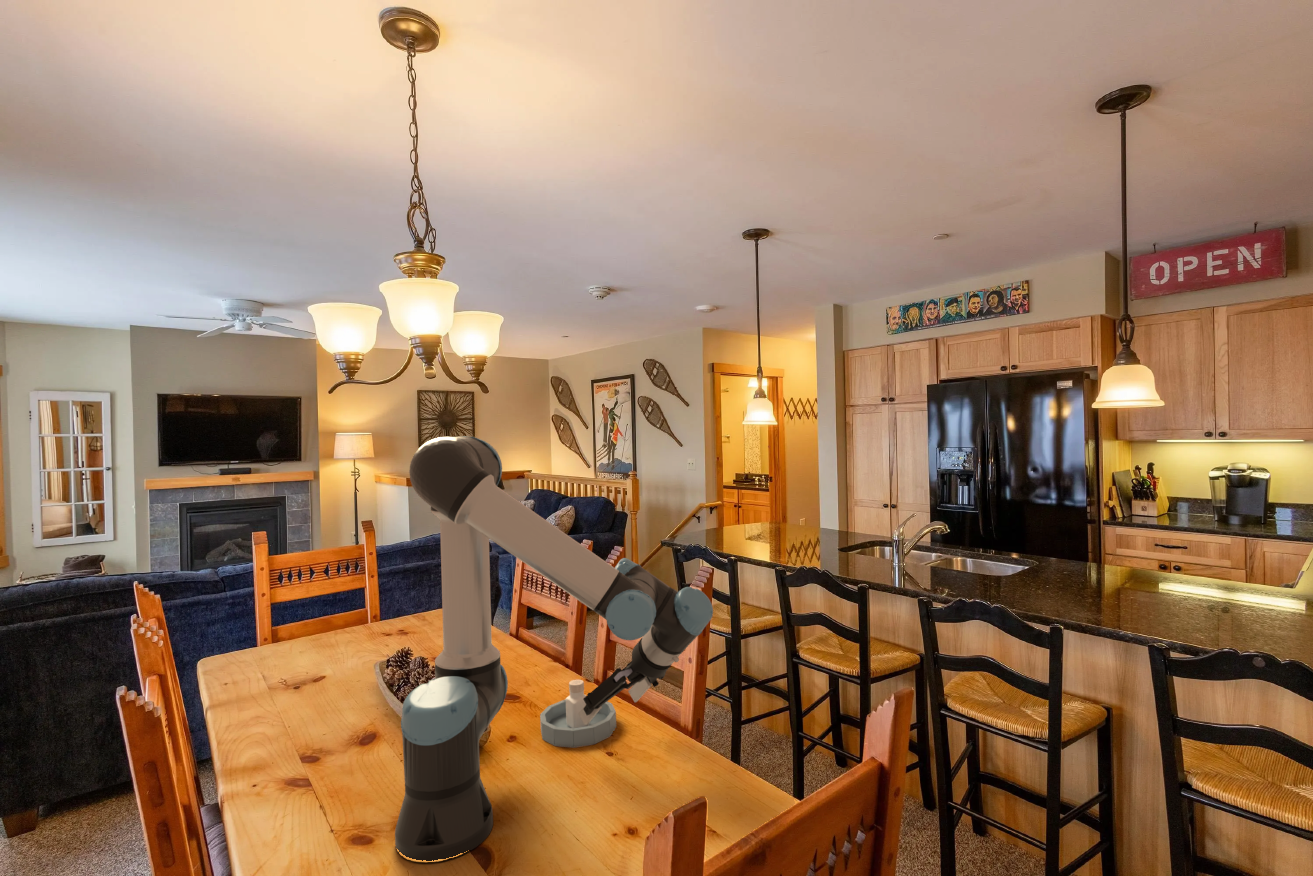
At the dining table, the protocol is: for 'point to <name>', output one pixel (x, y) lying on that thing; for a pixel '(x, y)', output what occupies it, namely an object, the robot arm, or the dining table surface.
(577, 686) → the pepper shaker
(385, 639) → the dining table surface
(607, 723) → the bowl
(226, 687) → the dining table surface
